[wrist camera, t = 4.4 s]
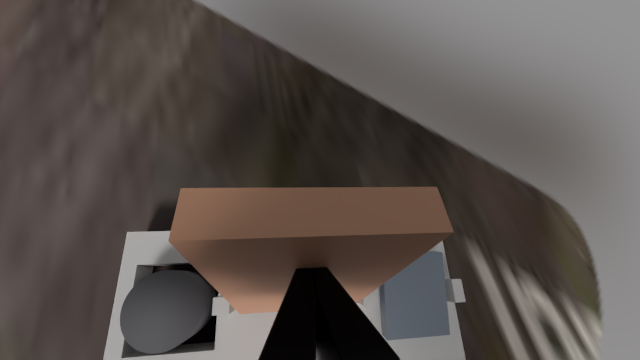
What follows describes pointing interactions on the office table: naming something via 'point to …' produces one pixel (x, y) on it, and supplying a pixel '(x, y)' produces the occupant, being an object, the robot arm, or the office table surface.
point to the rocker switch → (416, 300)
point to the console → (255, 314)
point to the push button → (166, 310)
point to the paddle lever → (304, 237)
